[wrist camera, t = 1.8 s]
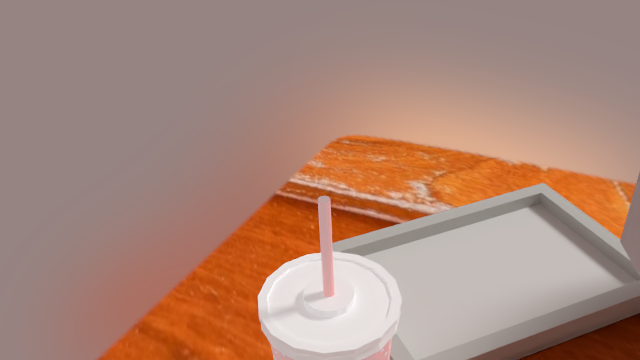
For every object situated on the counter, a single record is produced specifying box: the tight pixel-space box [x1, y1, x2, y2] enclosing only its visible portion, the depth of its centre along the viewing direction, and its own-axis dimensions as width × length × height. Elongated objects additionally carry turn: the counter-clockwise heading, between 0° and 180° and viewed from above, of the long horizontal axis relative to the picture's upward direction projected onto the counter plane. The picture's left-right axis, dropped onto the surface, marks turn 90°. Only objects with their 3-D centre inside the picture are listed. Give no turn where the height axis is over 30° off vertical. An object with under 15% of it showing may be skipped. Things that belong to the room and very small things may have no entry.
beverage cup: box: [258, 196, 402, 360], centre depth 27 cm, size 6×6×14 cm
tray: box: [332, 183, 640, 360], centre depth 39 cm, size 18×12×2 cm, turn 112°
